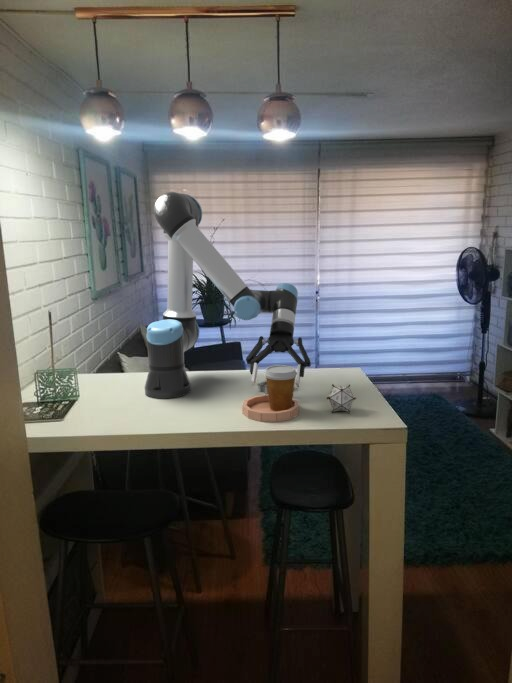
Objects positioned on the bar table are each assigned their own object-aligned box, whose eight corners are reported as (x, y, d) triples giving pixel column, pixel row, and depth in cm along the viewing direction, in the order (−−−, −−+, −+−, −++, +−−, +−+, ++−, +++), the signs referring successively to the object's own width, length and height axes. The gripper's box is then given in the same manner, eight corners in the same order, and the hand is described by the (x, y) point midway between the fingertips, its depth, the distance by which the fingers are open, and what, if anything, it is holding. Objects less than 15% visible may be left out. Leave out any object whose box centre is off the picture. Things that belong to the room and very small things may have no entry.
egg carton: (279, 384, 177) (279, 373, 176) (293, 390, 171) (293, 378, 170) (254, 390, 171) (254, 379, 170) (268, 396, 165) (268, 384, 164)
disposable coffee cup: (296, 402, 155) (296, 364, 153) (297, 413, 146) (297, 373, 143) (265, 402, 156) (264, 364, 153) (264, 413, 147) (263, 373, 144)
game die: (333, 422, 151) (316, 393, 153) (356, 409, 153) (339, 380, 155) (343, 418, 143) (324, 387, 144) (367, 403, 145) (348, 373, 147)
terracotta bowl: (234, 407, 154) (234, 399, 154) (282, 399, 161) (282, 391, 161) (257, 425, 140) (257, 416, 139) (308, 415, 147) (309, 407, 146)
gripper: (321, 333, 166) (317, 392, 155) (247, 331, 171) (237, 388, 160) (320, 320, 160) (315, 380, 149) (243, 318, 165) (232, 376, 154)
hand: (275, 384), depth 154 cm, fingers open, 13 cm apart
